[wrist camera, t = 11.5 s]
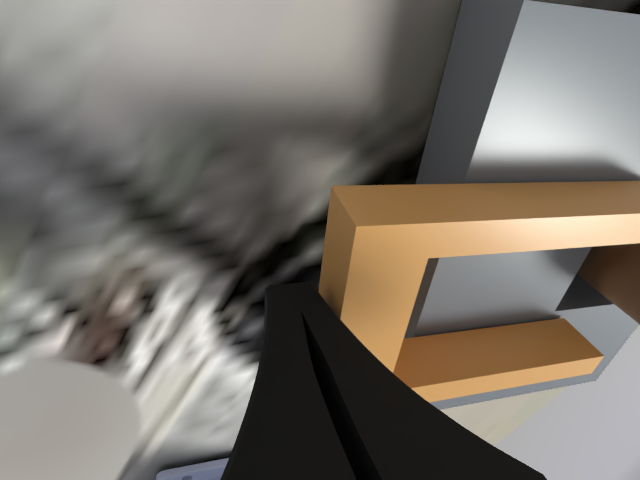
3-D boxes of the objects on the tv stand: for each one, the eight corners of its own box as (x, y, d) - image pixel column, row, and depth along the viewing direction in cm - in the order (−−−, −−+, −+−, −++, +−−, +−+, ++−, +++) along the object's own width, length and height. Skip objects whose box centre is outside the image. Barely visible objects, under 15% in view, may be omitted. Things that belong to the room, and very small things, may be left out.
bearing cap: (308, 369, 14) (322, 421, 12) (331, 185, 10) (356, 226, 8) (554, 334, 16) (591, 373, 15) (647, 180, 12) (713, 210, 11)
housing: (367, 373, 19) (386, 419, 17) (463, -5, 10) (524, -1, 8) (560, 344, 22) (596, 380, 20) (758, 33, 14) (855, 42, 12)
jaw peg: (579, 260, 18) (713, 361, 13) (534, 252, 17) (661, 359, 12) (622, 206, 17) (788, 296, 12) (575, 193, 16) (738, 287, 11)
